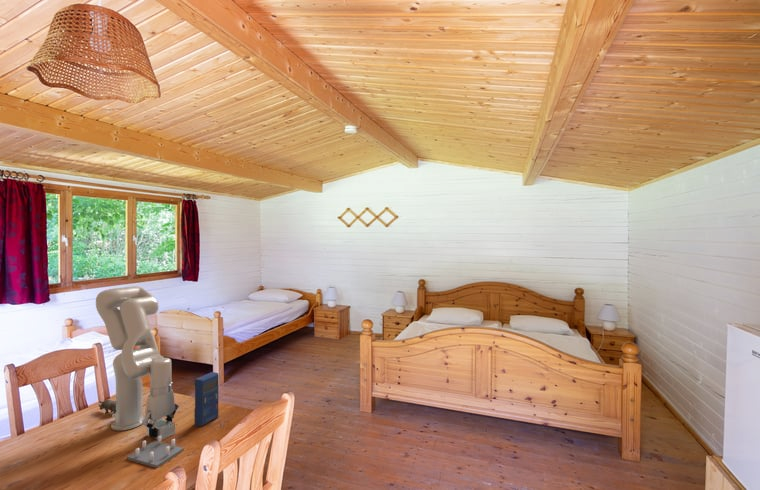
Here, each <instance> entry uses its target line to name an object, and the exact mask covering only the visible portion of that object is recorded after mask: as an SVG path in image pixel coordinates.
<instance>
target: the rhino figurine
mask: <svg viewBox="0 0 760 490" xmlns="http://www.w3.org/2000/svg"><path fill="white" fill-rule="evenodd" d="M98 402H99V403H98V406H99V410H101V411H102V410H105V412H104V414H105V415H106V414H109V411H110V413H111V416H112V415H113V414H116V400H112V399H109V398H108V399H104V401H98ZM112 412H113V413H112Z"/></svg>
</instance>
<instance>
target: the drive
mask: <svg viewBox="0 0 760 490" xmlns="http://www.w3.org/2000/svg"><path fill="white" fill-rule="evenodd" d="M165 419H166V418H164V417H163V418H161V419H159V420H157V423H156V426H155V428H156V438H153V440H154V439H155V440H156V441H158V436H161V441H164V440H165V439H168V438H170V437H171V436H173V435H176V433H175V432H176V422H173V421H172V422H171V421H168V420H165ZM152 424H153V422H152ZM146 436H147V437H149V428H148V427H146Z"/></svg>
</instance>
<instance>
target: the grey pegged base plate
mask: <svg viewBox="0 0 760 490" xmlns="http://www.w3.org/2000/svg"><path fill="white" fill-rule="evenodd" d="M170 441H171V442H170V444H168V443H166V442H162V440H161V436H158V440H153V441H152V442H150V443H148V444H147V440H142V441H141V442H142V443H141V444H142V445H141V446H142V447H141V448H140V447H137V448H135V451H134V452H132V453H131V454H128V455H127V456H126V460H128V461H132V462H134V463H138V464H141V465H144V466H148V467H152V468H156V469H157V468H159V467H161V466H163V465H164V464H165V463H167V462H168V461H170V460H172V459H173V458H175V457H176V456H177V455H179V454H181V453H182V452H184V450H185V448H184V447H181V446H177V445H176V438H172V439H171V440H170Z"/></svg>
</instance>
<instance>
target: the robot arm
mask: <svg viewBox="0 0 760 490" xmlns="http://www.w3.org/2000/svg"><path fill="white" fill-rule="evenodd" d="M95 308H96V311H97V314H98V315H99V316H100V318H101V320H102V321H103V323H104V325H105V329H106V332H107V334H108V338H109V342H110V344H111V347H112V348H113V350H115V351H121V352H120V354H118V355H116V356H115V357H114V359H113V361H112V368H113V372H114V378H115V401H116V414H113V413H112V414H113V415H112V414H111V416H112V417H113V418H114V421H113V422H111V429H112V430H113V431H127V430H132V429H135V428H137V427H140V426H141V425H142V426H145V427H146V428H147V427H148V428H149V436H148V437H149V438H152V439H154V438H156V428H155V426H156V423H157V420H159V419H161V418H163V419H165V420H168V421H171V422H173V419H174V417H175V415H176V413H177V410H178V408H179V407H180V406H179V405H178V404H176V403H175V401H176V400H175V394H174V390H173V389H172V386H173V385H174V382H173V381H172V376H173V375H172V369H173V368H172V367H173V366H172V365H173V364H172V359H171V358H169V357H164V356H163V355H161V354H160V351H159V350H160V349H159V348H158V344H157V341H156V338H155V334H154V332H153V330H152V328H151V326H150V322H149V318H148V316H150V315H151V316H152V315H155V314H156V313H157V312H158V311H159V302H158V301H157V299H156V297H155V296H154V295H153V294H151V293H150V292H148V291H147V289H144V288H142V286H141V287H140V286H127V287H117V288H116V287H115V288H109V289H106V290H102V291H100V292H99V293H98V294H97V295H96V299H95ZM136 347H139V348H136ZM147 376H149V395H148V396H147V398H146V399H147V400H146V403H145V413H144V414H143V409H144V408H143V407H144V406H143V399H144V397H143V395H144V394H143V392H144V391H143V387H144V385H143V379H142V378H143V377H147ZM165 417H166V418H165ZM152 422H153V424H152Z"/></svg>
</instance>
